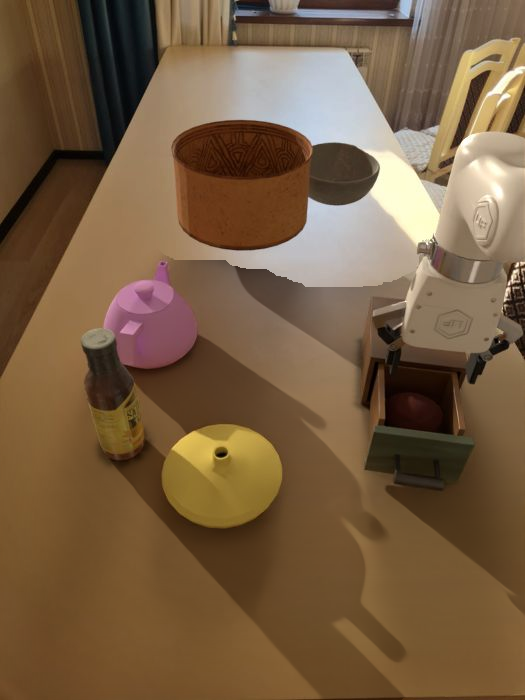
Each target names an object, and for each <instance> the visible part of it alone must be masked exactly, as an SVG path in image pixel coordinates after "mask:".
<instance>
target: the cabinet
mask: <svg viewBox="0 0 525 700" xmlns="http://www.w3.org/2000/svg"><path fill="white" fill-rule="evenodd" d="M405 300H406V299H403V298H394V297H385V296H374V295H371V296H370V300H369V305H368V310H367V315H366V320H365V324H364V331H363V336H362V341H361V373H360V375H361V376H360V405H367V406H370V396H371V391H372V387H373V383H374V378H375V374H376V370H377V366H378V362H382V363H385V358H386V353H387V348H388V345H387V344H386V343H385V342H384V341H383V340H382V339H381V338H380V337H379V336H378V332H377V330H376V328H375V326H374V324H373V321H372V311H373V310H376V309H379V308H383V307H386V306H390V305H394V304H397V303H401V302H404V301H405ZM401 322H402V320H401V317H400V318H396V319H392V320H389V321H386V323H387V324H388V325H389V326H390V327H391V328H394V327H395V326H397V325H398V324H400V323H401ZM467 361H468V359H467V353H466V352H456V351H447V350H438V349H429V348H420V347H414V346H410V345H408V344H405V345H404V346H402V347H401V357H400V361H399V365H407V366H416V367H424V368H433V369H441V370H450V371H457V377H458V383H459V390H460V391H461V389H462V387H463V383H464V381H465V379H466V377H467V374H466V369H465V368H466V364H467Z"/></svg>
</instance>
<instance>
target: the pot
mask: <svg viewBox="0 0 525 700" xmlns="http://www.w3.org/2000/svg"><path fill="white" fill-rule="evenodd" d="M312 146H313V144H312V142H311V140H309V138H308V137H307V136H306V135H304V134H303V133H301V132H300V131H298V130H296V129H293V128H291V127H288V126H286V125H283V124H279V123H274V122H271V121H270V122H269V121H262V120H254V119H252V120H251V119H227V120H219V121H211V122H207V123H202V124H200V125H196V126H193V127H190V128H188V129H186V130H184V131H183V132H181V133H179V134H178V135H177V136H176V137H175V138H174V139H173V141H172V144H171V147H170V149H171V154H172V159H173V169H174V183H175V184H174V185H175V201H176V214H177V221H178V225H179V226H180V228H181V229H182V231H183V232H184V233H185V234H187V236H188V237H190V238H192V239H193V240H195V241H197V242H198V243H201V244H204V245H206V246H209V247H212V248H215V249H216V248H217V249H221V250H227V251H237V252H238V251H241V252H242V251H259V250H265V249H269V248H274V247H277V246H280V245H283V244H285V243H287V242H289V241H291V240H292V239H294V238H296V237H297V236H299V235H300V234H301V232H302V231H303V230H304V228H305V226H306V224H307V220H308V219H307V218H308V208H309V197H308V191H309V173H310V162H311V158H312V150H313V147H312Z"/></svg>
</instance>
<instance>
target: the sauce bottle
mask: <svg viewBox="0 0 525 700" xmlns="http://www.w3.org/2000/svg"><path fill="white" fill-rule="evenodd" d="M80 345H81V349H82V352H83V353H84V354H85V357H86V361H87V369H88V370H87V372H86V374H85V377H84V380H83V385H84V390H85V393H86V400H87V404H88V407H89V411H90V414H91V418H92V421H93V424H94V425H93V426H94V428H95V432H96V435H97V438H98V441H99V444H100V445H99V446H100V447H101V449H102V451H103V453H104V454H105V455H106V456H107V457H108V458H109V459H111V460H114V461H126V460H130V459H133V458H134V457H136V456H137V455H138V454H139V453H140V452H141V451H142V450H143V447H144V446H145V441H146V438H145V436H146V435H145V433H146V432H145V428H144V422H143V417H142V412H141V408H140V402H139V397H138V393H137V388H136V383H135V378H134V377H133V375H132V374H131V372H129V370H128V369H127V368H126V366H125V365H124V364H122V362H121V361H120V358H119V356H118V352H117V340H116V337H115V334H114V333H113V332H112V331H111V330H108V329H105V328H104V327H98V328H94V329H90V330H88V331H87V332H85V333H84V334H83V335H82V337H81V339H80Z"/></svg>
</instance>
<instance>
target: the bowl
mask: <svg viewBox="0 0 525 700" xmlns="http://www.w3.org/2000/svg"><path fill="white" fill-rule="evenodd" d="M312 147H313V150H312V158H311V162H310V173H309V191H308V199H311V200H312V201H314V202H316V203H319V204H321V205H322V204H323V205H327V206H337V207H338V206H347V205H351V204H354V203H356V202H359V201H360V200H362V199H363V198H364V197H366V195H368V194H369V193H370V192H371V190H373V187H374V186H375V184H376V182H377V181H378V177H379V176H380V175H379V174H380V170H381V165H380V163H379V161H378V160H377V159H376V158H375V156H373V155H372V154H369V153H368V152H366V151H364V150H363V149H362V148H360V147H358V146H356V145H354V144H349V143H344V142H336V141H335V142H334V141H333V142H321V143H316V144H314V145H313V144H312Z"/></svg>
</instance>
